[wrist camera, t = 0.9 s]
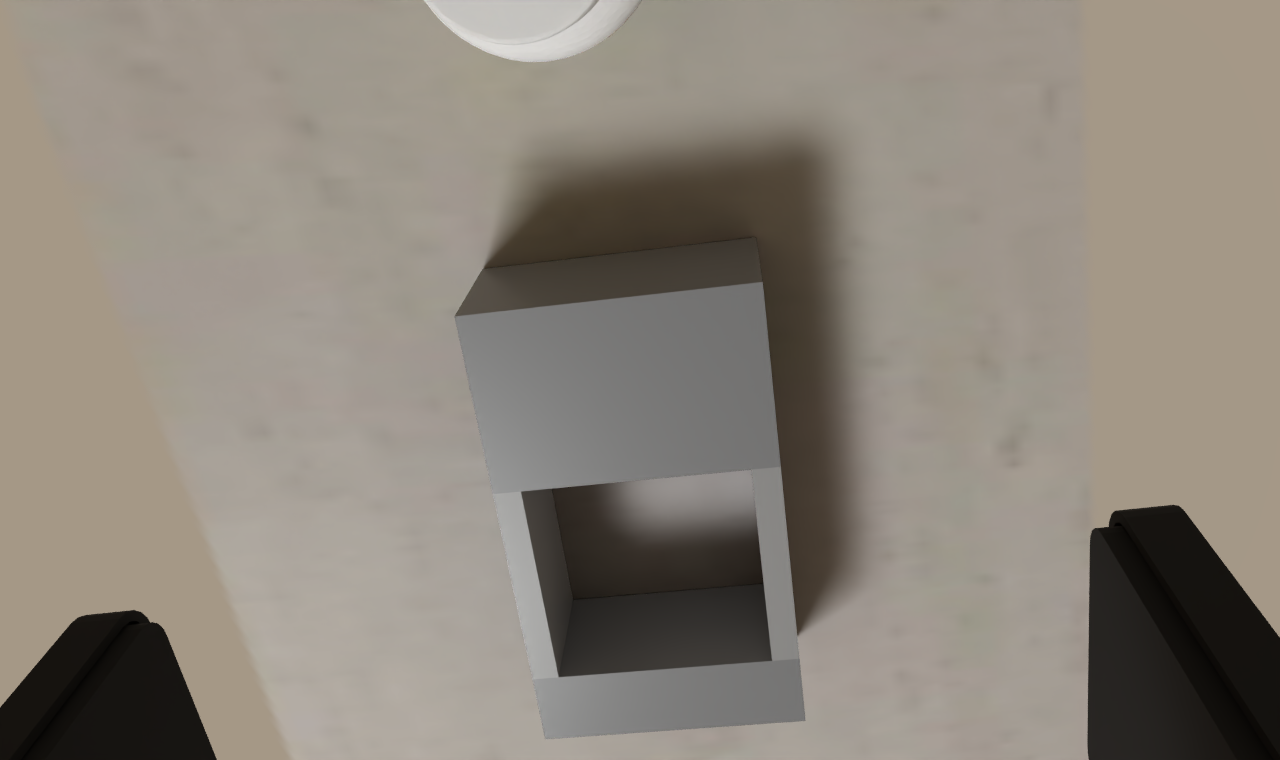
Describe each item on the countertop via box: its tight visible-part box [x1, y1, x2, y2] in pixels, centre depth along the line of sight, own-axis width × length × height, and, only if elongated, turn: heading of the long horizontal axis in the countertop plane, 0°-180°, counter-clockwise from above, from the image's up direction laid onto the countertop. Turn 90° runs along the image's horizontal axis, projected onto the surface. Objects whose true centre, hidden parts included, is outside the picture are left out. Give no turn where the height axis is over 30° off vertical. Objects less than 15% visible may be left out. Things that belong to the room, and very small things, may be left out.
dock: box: [455, 237, 805, 739], centre depth 33 cm, size 14×8×4 cm, turn 8°
